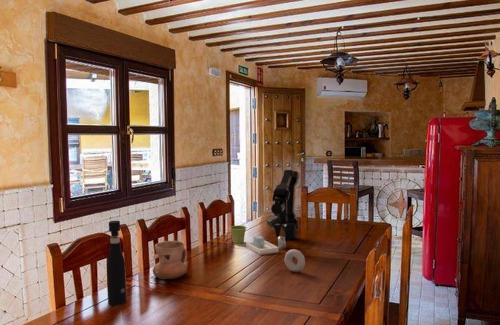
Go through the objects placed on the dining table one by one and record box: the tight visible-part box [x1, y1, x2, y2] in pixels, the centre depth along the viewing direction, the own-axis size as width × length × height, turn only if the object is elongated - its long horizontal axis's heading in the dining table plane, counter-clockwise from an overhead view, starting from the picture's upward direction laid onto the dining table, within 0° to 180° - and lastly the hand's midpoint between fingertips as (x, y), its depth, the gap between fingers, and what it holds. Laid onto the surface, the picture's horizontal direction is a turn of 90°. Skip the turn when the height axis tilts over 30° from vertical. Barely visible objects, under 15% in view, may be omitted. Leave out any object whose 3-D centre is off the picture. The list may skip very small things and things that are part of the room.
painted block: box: [253, 235, 265, 248], centre depth 217 cm, size 4×4×5 cm
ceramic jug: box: [152, 240, 188, 280], centre depth 176 cm, size 18×14×14 cm
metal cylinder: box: [277, 235, 287, 250], centre depth 217 cm, size 4×4×6 cm
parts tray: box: [245, 239, 280, 256], centre depth 214 cm, size 11×16×2 cm
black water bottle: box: [106, 220, 127, 307], centre depth 148 cm, size 6×6×30 cm
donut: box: [284, 248, 306, 273], centre depth 179 cm, size 10×4×10 cm, turn 54°
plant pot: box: [229, 225, 247, 245], centre depth 228 cm, size 9×9×9 cm
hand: (281, 239), depth 217 cm, fingers open, 9 cm apart
